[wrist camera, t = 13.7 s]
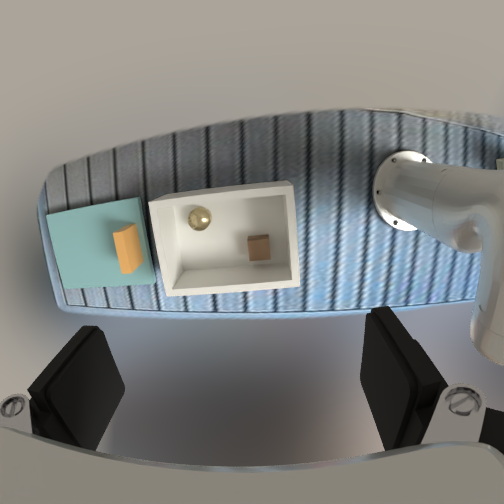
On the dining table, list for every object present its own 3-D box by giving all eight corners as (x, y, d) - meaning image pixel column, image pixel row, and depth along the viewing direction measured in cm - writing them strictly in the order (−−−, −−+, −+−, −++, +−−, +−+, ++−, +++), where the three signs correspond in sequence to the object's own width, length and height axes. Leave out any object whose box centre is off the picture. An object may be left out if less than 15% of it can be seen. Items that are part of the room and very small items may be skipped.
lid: (143, 195, 45) (123, 203, 38) (159, 277, 49) (143, 297, 42) (54, 212, 46) (28, 222, 39) (71, 283, 50) (49, 300, 43)
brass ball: (209, 204, 44) (207, 207, 42) (213, 226, 45) (211, 229, 43) (188, 208, 44) (185, 210, 42) (192, 229, 45) (190, 232, 43)
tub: (287, 180, 43) (293, 185, 36) (294, 265, 47) (300, 286, 40) (166, 194, 44) (148, 202, 37) (180, 274, 48) (166, 296, 41)
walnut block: (268, 234, 45) (268, 238, 42) (270, 253, 46) (270, 259, 43) (248, 236, 45) (247, 240, 43) (250, 255, 46) (249, 261, 44)
